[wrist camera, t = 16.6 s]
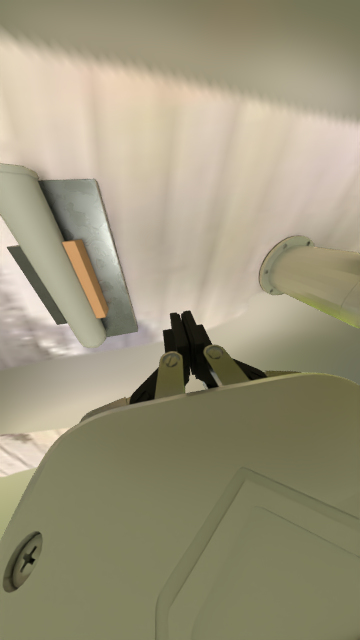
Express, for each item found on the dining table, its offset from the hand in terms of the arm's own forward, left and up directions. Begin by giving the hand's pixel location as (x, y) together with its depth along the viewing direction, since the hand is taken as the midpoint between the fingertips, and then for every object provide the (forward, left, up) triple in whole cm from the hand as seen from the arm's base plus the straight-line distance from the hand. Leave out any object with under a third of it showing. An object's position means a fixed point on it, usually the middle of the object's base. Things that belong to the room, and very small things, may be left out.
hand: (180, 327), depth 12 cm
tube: (+15, -1, -18) cm, 23 cm away
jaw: (+12, 0, -18) cm, 21 cm away
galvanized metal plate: (+13, 0, -19) cm, 23 cm away
